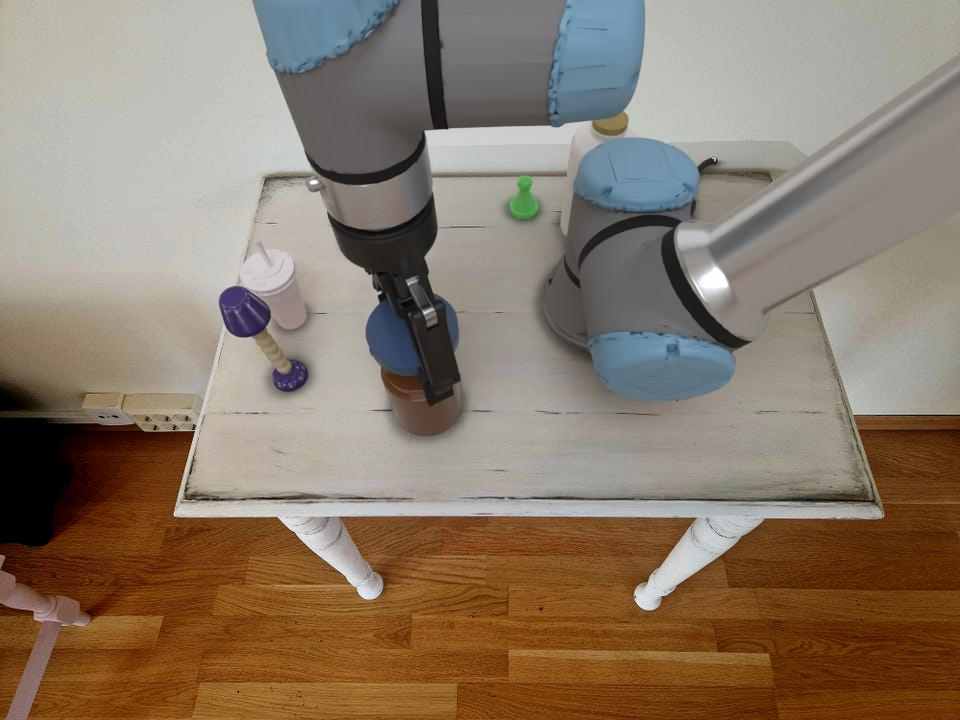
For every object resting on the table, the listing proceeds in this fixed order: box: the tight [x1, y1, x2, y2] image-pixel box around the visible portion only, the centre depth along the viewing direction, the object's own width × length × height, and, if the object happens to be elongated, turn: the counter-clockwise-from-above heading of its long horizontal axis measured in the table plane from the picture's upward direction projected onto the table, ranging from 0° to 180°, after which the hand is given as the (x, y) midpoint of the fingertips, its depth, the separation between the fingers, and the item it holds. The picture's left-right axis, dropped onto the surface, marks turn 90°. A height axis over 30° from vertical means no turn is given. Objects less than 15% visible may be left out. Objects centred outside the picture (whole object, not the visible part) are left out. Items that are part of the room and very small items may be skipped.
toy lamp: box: [218, 285, 309, 393], centre depth 62 cm, size 5×5×17 cm
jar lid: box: [365, 292, 460, 376], centre depth 54 cm, size 9×9×2 cm
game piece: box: [509, 175, 539, 220], centre depth 81 cm, size 4×4×6 cm
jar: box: [380, 366, 462, 437], centre depth 63 cm, size 8×8×10 cm
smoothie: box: [239, 238, 308, 330], centre depth 68 cm, size 6×6×14 cm
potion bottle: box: [559, 110, 639, 238], centre depth 73 cm, size 8×8×18 cm
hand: (420, 362), depth 59 cm, fingers closed on jar lid, 9 cm apart
